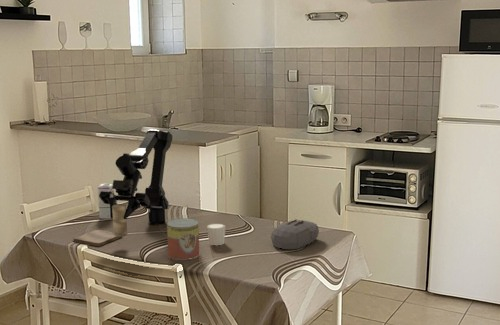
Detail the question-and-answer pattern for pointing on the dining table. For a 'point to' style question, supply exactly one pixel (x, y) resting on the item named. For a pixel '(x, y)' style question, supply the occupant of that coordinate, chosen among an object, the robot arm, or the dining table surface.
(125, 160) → the robot arm
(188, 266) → the dining table surface
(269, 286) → the dining table surface
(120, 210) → the birch peg
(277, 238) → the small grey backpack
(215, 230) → the white short cylinder
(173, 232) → the canned food
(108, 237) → the walnut board
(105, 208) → the white plastic bottle
